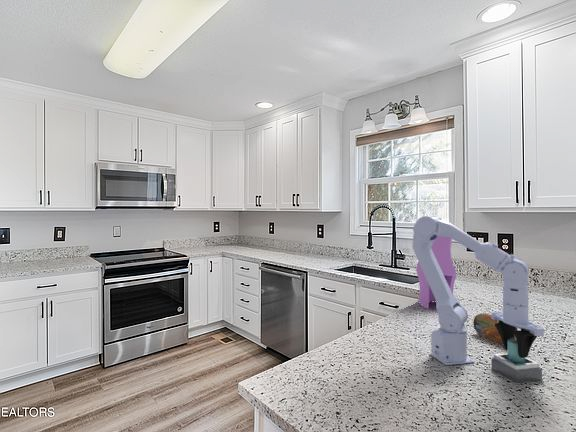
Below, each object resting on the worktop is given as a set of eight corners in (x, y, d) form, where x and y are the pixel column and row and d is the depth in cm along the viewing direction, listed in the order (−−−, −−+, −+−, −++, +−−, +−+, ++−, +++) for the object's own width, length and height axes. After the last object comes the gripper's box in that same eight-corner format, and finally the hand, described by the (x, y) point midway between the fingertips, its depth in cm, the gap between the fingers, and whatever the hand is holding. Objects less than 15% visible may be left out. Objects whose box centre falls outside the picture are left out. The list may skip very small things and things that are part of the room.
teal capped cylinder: (517, 364, 87) (516, 342, 87) (503, 358, 91) (503, 336, 91) (529, 363, 88) (528, 340, 88) (515, 356, 91) (515, 335, 91)
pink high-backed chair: (444, 301, 164) (444, 232, 163) (456, 309, 150) (455, 233, 150) (416, 301, 165) (416, 232, 165) (425, 308, 151) (424, 233, 151)
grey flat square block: (516, 382, 84) (516, 366, 84) (491, 368, 92) (491, 353, 92) (542, 379, 86) (541, 364, 86) (515, 366, 94) (515, 351, 94)
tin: (472, 333, 120) (472, 310, 120) (479, 332, 121) (478, 309, 121) (513, 349, 106) (513, 323, 106) (520, 347, 107) (520, 322, 107)
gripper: (553, 310, 83) (554, 363, 83) (505, 296, 97) (506, 342, 97) (530, 312, 81) (530, 366, 81) (485, 297, 96) (485, 343, 96)
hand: (515, 353), depth 89 cm, fingers open, 4 cm apart
